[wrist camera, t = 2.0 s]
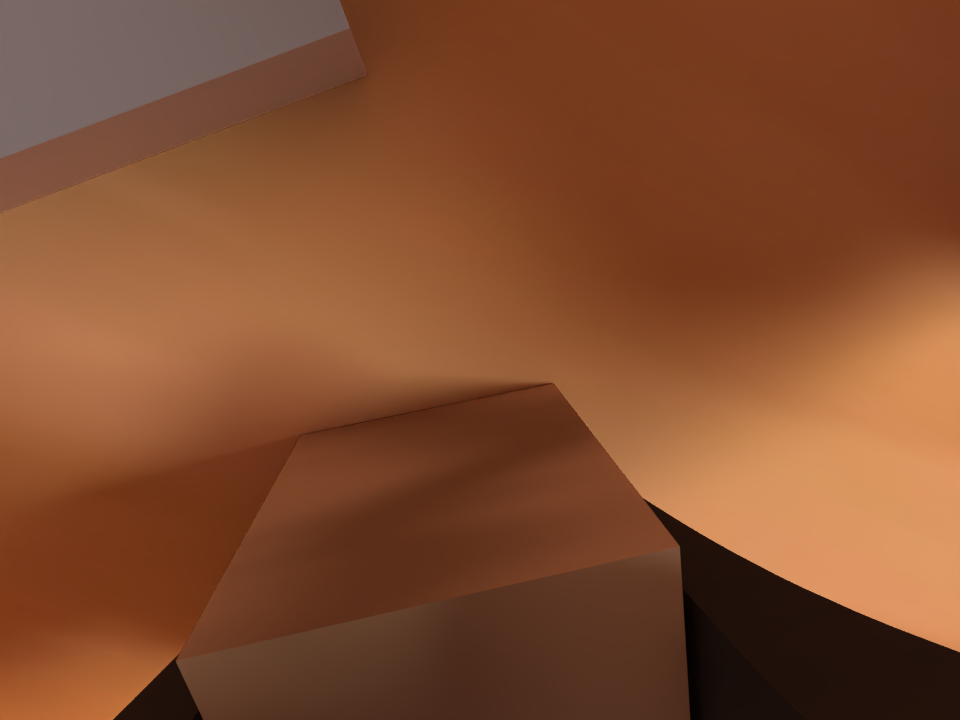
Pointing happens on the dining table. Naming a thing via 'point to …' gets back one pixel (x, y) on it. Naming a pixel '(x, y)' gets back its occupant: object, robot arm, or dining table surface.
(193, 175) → the dining table surface
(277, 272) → the dining table surface
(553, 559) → the walnut block
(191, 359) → the dining table surface
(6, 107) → the plate
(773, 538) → the dining table surface
